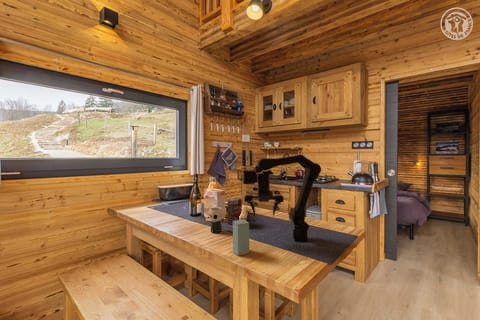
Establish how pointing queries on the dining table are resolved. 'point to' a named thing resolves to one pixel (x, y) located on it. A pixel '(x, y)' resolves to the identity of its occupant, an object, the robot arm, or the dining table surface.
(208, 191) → the coffeecake box
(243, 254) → the post
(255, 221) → the dining table surface
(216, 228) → the cream head figurine
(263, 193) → the robot arm
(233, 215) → the supplement box
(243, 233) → the sage green block
